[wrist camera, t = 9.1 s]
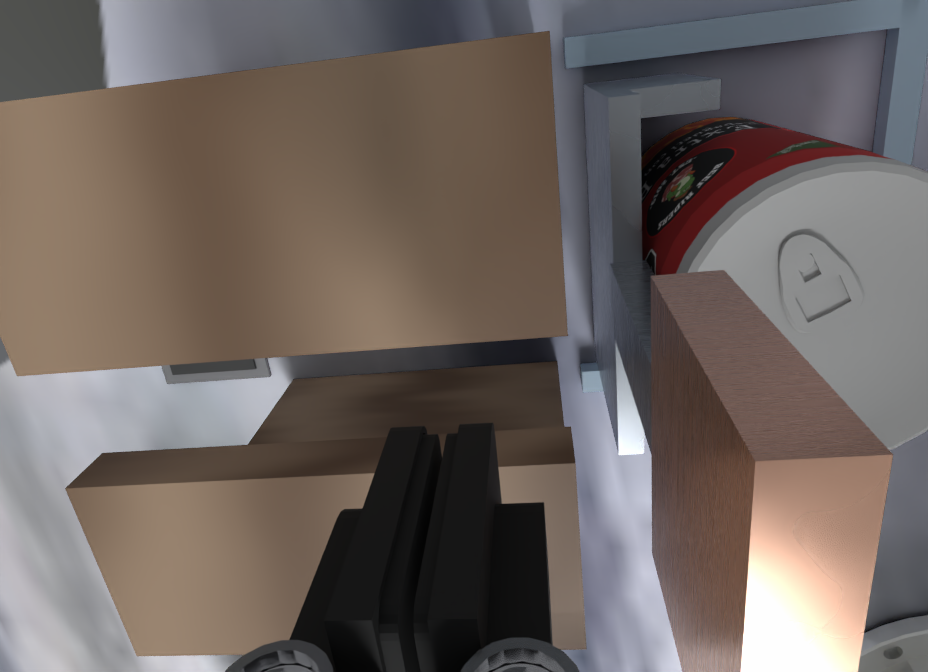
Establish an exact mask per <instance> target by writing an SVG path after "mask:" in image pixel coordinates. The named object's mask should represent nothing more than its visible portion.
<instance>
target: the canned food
mask: <svg viewBox="0 0 928 672" xmlns="http://www.w3.org/2000/svg"><path fill="white" fill-rule="evenodd" d="M641 188H642V260H646V261H647V263H648V265H649V266H650V268H651V270H652V271H653V273H654V275H668V274H680V273H692V272H704V271H716V270H725V272H726V273H727V274H728V275H729V276H730V277H731V278H732V279H733V280H734V281H735V282H736V284H737V285H738V286H739V287H740V288H741V289H742V290H743V291H744V292H745V293H746V294H747V296H748V297H749V298H750V299H751V300H752V301H753V302H754V303H755V304H756V305H757V306H758V308H759V309H760V310H761V311H762V312H763V313H764V314H765V315H766V316H767V317H768V318H769V320H770V321H771V322H772V323H773V324H774V325H775V326H776V327H777V328H778V329H779V331H780V332H781V333H782V334H783V335H784V336H785V337H786V338H787V339H788V340H789V341H790V343H791V344H792V345H793V346H794V347H795V348H796V349H797V350H798V351H799V352H800V353H801V355H802V356H803V357H804V358H805V359H806V360H807V361H808V362H809V363H810V364H811V365H812V367H813V368H814V369H815V370H816V371H817V372H818V373H819V374H820V375H821V376H822V377H823V379H824V380H825V381H826V382H827V383H828V384H829V385H830V386H831V387H832V388H833V390H834V391H835V392H836V393H837V394H838V395H839V396H840V397H841V398H842V399H843V400H844V402H845V403H846V404H847V405H848V406H849V407H850V408H851V409H852V410H853V411H854V412H855V414H856V415H857V416H858V417H859V418H860V419H861V420H862V421H863V422H864V423H865V424H866V426H867V427H868V428H869V429H870V430H871V431H872V432H873V433H874V434H875V435H876V436H877V438H878V439H879V440H880V441H881V442H882V443H883V444H884V445H885V446H886V447H887V448H888V450H892V449H895V448H897V447H899V446H900V445H902V444H904V443H906V442H908V441H910V440H912V439H914V438H916V437H918V436H919V435H921V434H923V433H924V432H926V431H927V430H928V172H927V171H925V170H922V169H919V168H917V167H914V166H911V165H908V164H906V163H903V162H900V161H898V160H895V159H891V158H888V157H884V156H881V155H879V154H876V153H873V152H870V151H867V150H863V149H859V148H855V147H852V146H848V145H844V144H841V143H837V142H833V141H829V140H826V139H822V138H818V137H814V136H811V135H807V134H803V133H800V132H796V131H792V130H788V129H785V128H781V127H777V126H774V125H770V124H766V123H762V122H759V121H755V120H750V119H743V118H736V117H723V118H709V119H706V120H702V121H698V122H695V123H691V124H688V125H686V126H684V127H682V128H680V129H678V130H676V131H673V132H671V133H669V134H668V135H666V136H665V137H664V138H662V139H661V140H660V141H658V142H657V143H656V144H654V145H653V146H652V147H650V148H649V150H648V151H647V152H646V153H645V154H644V155H643V156H642V157H641Z"/></svg>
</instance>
